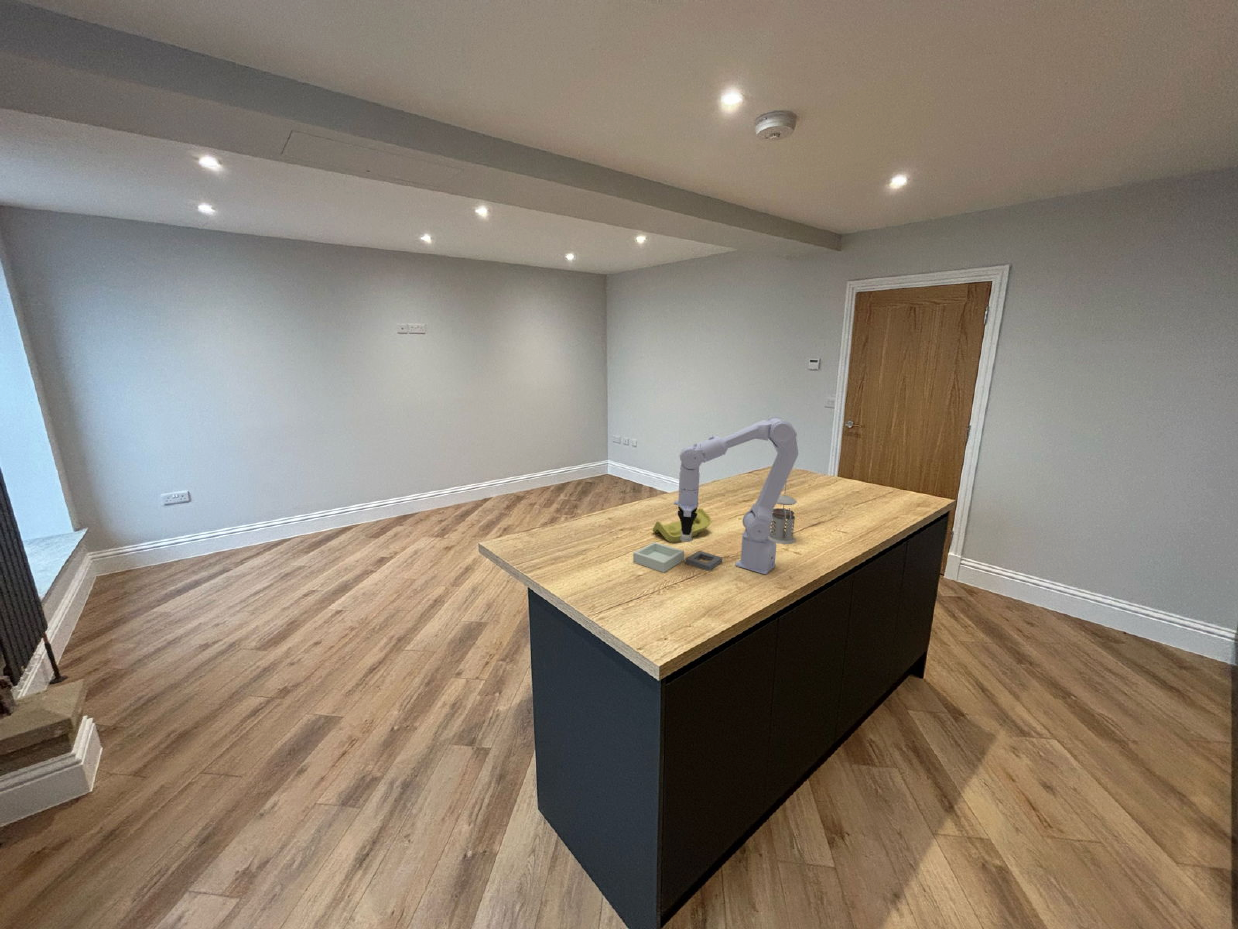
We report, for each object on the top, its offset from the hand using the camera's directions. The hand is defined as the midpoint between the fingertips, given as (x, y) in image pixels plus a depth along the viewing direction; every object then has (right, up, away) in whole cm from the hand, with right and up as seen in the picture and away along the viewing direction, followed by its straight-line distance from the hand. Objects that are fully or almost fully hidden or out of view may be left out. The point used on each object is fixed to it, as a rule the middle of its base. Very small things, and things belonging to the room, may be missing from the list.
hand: (686, 532), depth 137 cm
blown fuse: (0, -2, +1) cm, 2 cm away
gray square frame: (+6, -9, +2) cm, 11 cm away
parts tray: (-8, -9, +2) cm, 12 cm away
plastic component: (+3, -5, +25) cm, 25 cm away
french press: (+36, -6, +21) cm, 42 cm away
